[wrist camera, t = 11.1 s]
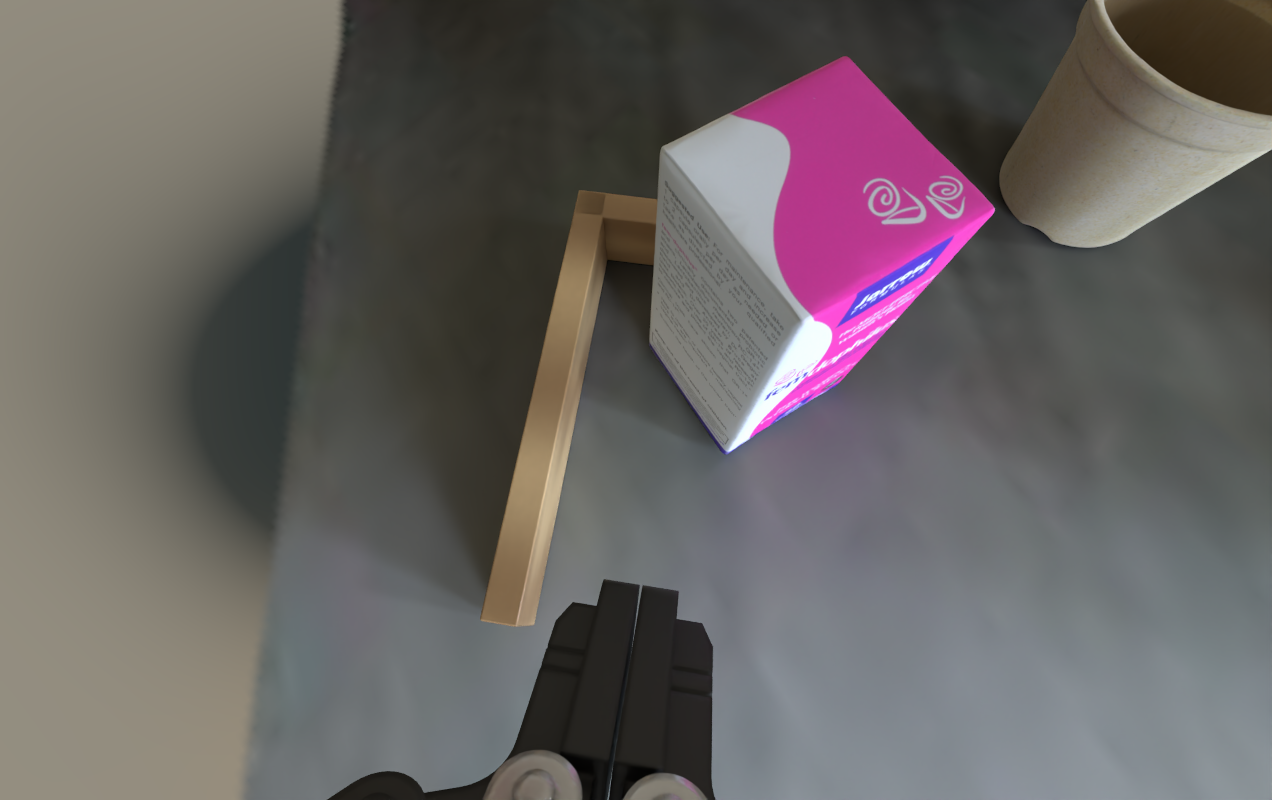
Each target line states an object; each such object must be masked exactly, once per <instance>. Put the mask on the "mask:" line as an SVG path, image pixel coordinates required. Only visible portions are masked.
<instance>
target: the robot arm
mask: <svg viewBox="0 0 1272 800" xmlns="http://www.w3.org/2000/svg"><path fill="white" fill-rule="evenodd" d="M639 587H640V585H637V584H631V583H624V582H618V581H612V580H606V579H604V581H603V583H602V587H601V591H600V595H599V599H598V603H597V606H593V605H587V604H581V603H575V602H573V603H572V604H571V605H570V606H569V607H568V608H567V609H566V610H565V611H564V612H563V613H562V615H561V616H560V617H559V618H558V619H557V620H556V622H555V625H554V628H553V631H552V634H551V637H550V640H549V643H548V648H547V649H546V652H545V655H544V658H543V661H542V666H541V668H540V670H539V673H538V676H537V679H536V682H535V685H534V689H533V692H532V695H531V698H530V701H529V704H528V707H527V710H526V713H525V716H524V719H523V722H522V725H521V728H520V731H519V734H518V737H517V740H516V743H515V745H514V748H513V750H512V751H511V753H510V755H509V756H508V758H507V759H506V760H505V762H504V763H503V764H502V765H501V766H500V767H499V768H498V769H497V770H496V771H495V772H493V773H492V774H490V775H489V776H488V777H486V778H484V779H482V780H480V781H478V782H476V783H473V784H471V785H467V786H463V787H457V788H451V789H445V790H439V791H433V792H427V793H424V792H423V790H422V788H421V787H420V785H419V784H418V783H417V782H416V781H415V780H414V779H412V778H411V777H409V776H407V775H405V774H403V773H399V772H391V771H386V772H378V773H374V774H370V775H368V776H365V777H363V778H361V779H359V780H357V781H355V782H354V783H352V784H350V785H349V786H347V787H346V788H344V789H343V790H341V791H340V792H338V793H337V794H335V795H334V796H332V797H331V798H329V799H327V800H607V798H608V792H609V786H610V780H611V787H610V796H609V800H715V797H714V793H713V789H712V780H711V761H712V668H713V646H712V644H711V642H710V640H709V637H708V635H707V633H706V631H705V629H704V626H703V624H702V623H697V622H691V621H685V620H679V619H676V618H677V606H678V593H679V592H678V591H675V590H669V589H663V588H656V587H650V586H644V585H643V587H642V592H641V598H640V604H639V610H638V616H637V623H636V629H635V635H634V628H635V620H636V612H637V604H638V596H639ZM633 636H634V641H633ZM632 644H633V647H632ZM631 651H632V653H631ZM630 658H631V659H630ZM612 768H613V771H612ZM611 774H612V779H611Z"/></svg>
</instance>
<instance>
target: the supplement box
mask: <svg viewBox="0 0 1272 800" xmlns="http://www.w3.org/2000/svg"><path fill="white" fill-rule="evenodd" d="M994 211H995V208H994V207H993V205H992V204H991V203H990V202H989V201H988V200H987V199H986V197H985V196H984V195H983V194H982V193H981V192H980V191H979V190H978V189H977V188H976V187H975V186H974V185H973V184H972V183H971V182H970V181H969V180H968V179H967V178H966V177H965V176H964V175H963V174H962V173H961V172H960V171H959V170H958V169H957V168H956V167H955V166H954V165H953V164H952V163H951V162H950V161H949V160H948V159H946V158H945V157H944V156H943V155H942V154H941V153H940V152H939V151H938V150H937V149H936V148H935V147H934V146H933V145H932V144H931V143H930V142H929V141H928V140H927V139H926V138H925V137H924V136H923V135H922V134H921V133H920V132H919V131H918V130H917V129H916V128H915V127H914V126H913V125H912V124H911V123H910V121H909V120H908V119H907V118H906V117H905V116H904V115H903V114H902V113H901V112H900V111H899V110H898V109H897V108H896V107H895V106H894V105H893V104H892V103H891V102H890V101H889V100H888V99H887V97H886V96H885V95H884V94H883V93H882V92H881V91H880V90H879V89H878V88H877V87H876V86H875V85H874V84H873V83H872V82H871V81H870V80H869V78H868V77H867V76H866V75H865V74H864V73H863V72H862V71H861V70H860V69H859V68H858V67H857V66H856V65H855V64H854V62H853V61H852V60H851V59H850V58H848V57H847V56H844V57H841V58H839V59H837V60H835V61H833V62H831V63H829V64H827V65H825V66H823V67H821V68H819V69H817V70H815V71H813V72H811V73H809V74H807V75H804V76H802V77H800V78H799V79H797V80H795V81H793V82H791V83H789V84H787V85H784V86H782V87H781V88H779V89H777V90H775V91H772V92H770V93H768V94H766V95H764V96H762V97H760V98H758V99H757V100H755V101H753V102H751V103H749V104H747V105H745V106H743V107H741V108H739V109H737V110H735V111H733V112H731V113H729V114H727V115H724V116H722V117H720V118H718V119H716V120H714V121H712V122H710V123H709V124H707V125H705V126H703V127H701V128H699V129H697V130H695V131H693V132H691V133H689V134H687V135H685V136H683V137H681V138H679V139H677V140H675V141H673V142H671V143H669V144H666V145H664V146H662V148H661V151H660V162H659V180H658V201H657V217H656V234H655V254H654V271H653V287H652V303H651V322H650V337H649V341H650V342H649V347H650V348H651V349H652V351H653V353H654V355H655V356H656V358H657V359H658V360H659V362H660V363H661V364H662V366H663V368H664V369H665V370H666V372H667V373H668V374H669V376H670V377H671V379H672V380H673V382H674V383H675V385H676V386H677V387H678V389H679V390H680V392H681V393H682V395H683V396H684V397H685V399H686V401H687V402H688V404H689V405H690V406H691V408H692V409H693V411H694V412H695V414H696V415H697V417H698V419H699V420H700V422H701V423H702V424H703V426H704V427H705V429H706V430H707V431H708V433H709V435H710V436H711V437H712V439H713V440H714V442H715V443H716V445H717V446H718V448H719V449H720V451H721V452H722V453H724V454H729V453H730V452H732V451H733V450H735V449H736V448H737V447H739V446H740V445H742V444H743V443H744V442H746V441H747V440H749V439H750V438H751V437H753V436H754V435H756V434H757V433H759V432H760V431H762V430H763V429H765V428H767V427H768V426H770V425H771V424H773V423H775V422H776V421H778V420H779V419H781V418H783V417H784V416H786V415H788V414H789V413H791V412H792V411H794V410H796V409H797V408H799V407H800V406H802V405H804V404H805V403H807V402H809V401H810V400H812V399H813V398H815V397H817V396H819V395H821V394H823V393H825V392H826V391H828V390H829V389H831V388H833V387H835V386H837V385H838V384H839V382H840V381H841V380H842V379H843V378H844V377H845V376H846V375H847V373H848V372H849V371H850V370H851V369H852V368H853V367H854V366H855V365H856V364H857V363H858V362H859V361H860V359H861V358H862V357H863V356H864V355H865V354H866V353H867V352H868V351H869V350H870V349H871V347H872V346H873V345H874V344H875V343H876V342H877V341H878V339H879V338H880V337H881V336H882V335H883V334H884V333H885V332H886V331H887V330H888V329H889V327H890V326H891V325H892V324H893V323H894V322H895V321H896V320H897V319H898V318H899V317H900V315H901V314H902V313H903V312H904V311H905V310H906V309H907V307H908V306H909V305H910V304H911V303H912V302H913V301H914V300H915V299H916V297H917V296H918V295H919V294H920V293H921V292H922V291H923V290H924V289H925V288H926V287H927V285H928V284H929V283H930V282H931V281H932V280H933V279H934V278H935V276H936V275H937V274H938V273H939V272H940V271H941V270H942V269H943V268H944V267H945V266H946V265H947V264H948V263H949V261H950V260H951V259H952V258H953V257H954V256H955V255H956V254H957V253H958V251H959V250H960V249H961V248H962V247H963V246H964V245H965V244H966V243H967V242H968V240H969V239H970V238H971V237H972V236H973V235H974V234H975V233H976V232H977V231H978V230H979V228H980V227H981V226H982V225H983V224H984V223H985V222H986V221H987V220H988V219H989V218H990V217H991V216H992V215H993V213H994Z"/></svg>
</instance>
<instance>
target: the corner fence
mask: <svg viewBox="0 0 1272 800" xmlns="http://www.w3.org/2000/svg"><path fill="white" fill-rule="evenodd" d="M657 201H658V199H651V198H642V197H634V196H625V195H617V194H608V193H600V192H591V191H583V190H579V193H578V197H577V201H576V206H575V210H574V214H573V219H572V223H571V227H570V232H569V236H568V240H567V245H566V249H565V253H564V257H563V262H562V266H561V270H560V275H559V279H558V283H557V288H556V292H555V296H554V301H553V305H552V309H551V314H550V318H549V322H548V327H547V331H546V335H545V340H544V344H543V348H542V353H541V357H540V361H539V366H538V370H537V374H536V379H535V383H534V387H533V392H532V396H531V400H530V405H529V409H528V413H527V418H526V422H525V426H524V431H523V435H522V439H521V444H520V448H519V452H518V457H517V461H516V465H515V470H514V474H513V478H512V483H511V487H510V491H509V496H508V500H507V504H506V509H505V513H504V517H503V522H502V526H501V530H500V535H499V539H498V543H497V548H496V552H495V556H494V561H493V565H492V569H491V574H490V578H489V582H488V587H487V591H486V595H485V600H484V604H483V608H482V613H481V617H480V620H481V621H485V622H491V623H497V624H503V625H508V626H514V627H517V626H531V625H534V623H535V618H536V613H537V608H538V603H539V598H540V593H541V588H542V583H543V578H544V573H545V568H546V563H547V558H548V553H549V548H550V543H551V539H552V534H553V529H554V524H555V519H556V514H557V509H558V504H559V499H560V494H561V489H562V484H563V479H564V474H565V469H566V464H567V459H568V454H569V449H570V444H571V439H572V434H573V429H574V424H575V419H576V414H577V409H578V404H579V399H580V394H581V389H582V384H583V379H584V374H585V369H586V364H587V359H588V354H589V349H590V344H591V339H592V334H593V329H594V324H595V319H596V315H597V310H598V305H599V300H600V295H601V290H602V285H603V280H604V275H605V270H606V265H607V260H614V261H622V262H630V263H639V264H647V265H654V254H655V234H656V217H657Z"/></svg>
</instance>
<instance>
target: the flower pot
mask: <svg viewBox="0 0 1272 800" xmlns="http://www.w3.org/2000/svg"><path fill="white" fill-rule="evenodd" d="M1270 150H1272V0H1087V2H1086V4H1085V5H1084V7H1083V10H1082V12H1081V14H1080V16H1079V19H1078V23H1077V28H1076V36H1075V37H1074V39H1073V41H1072V43H1071V45H1070V46H1069V48H1068V50H1067V52H1066V54H1065V55H1064V57H1063V59H1062V61H1061V62H1060V64H1059V66H1058V68H1057V69H1056V71H1055V73H1054V75H1053V77H1052V78H1051V80H1050V82H1049V84H1048V85H1047V87H1046V89H1045V91H1044V92H1043V94H1042V96H1041V98H1040V100H1039V101H1038V103H1037V105H1036V107H1035V108H1034V110H1033V112H1032V113H1031V115H1030V117H1029V119H1028V120H1027V122H1026V124H1025V125H1024V127H1023V129H1022V131H1021V132H1020V134H1019V136H1018V137H1017V139H1016V141H1015V142H1014V144H1013V146H1012V147H1011V149H1010V150H1009V152H1008V153H1007V155H1006V157H1005V159H1004V161H1003V163H1002V166H1001V169H1000V175H999V183H1000V189H1001V193H1002V196H1003V198H1004V200H1005V203H1006V205H1007V206H1008V208H1009V209H1010V210H1011V212H1012V213H1013V215H1014V216H1015V217H1016V218H1017V219H1018V220H1019V221H1020V222H1021V223H1023V224H1026V225H1030V226H1033V227H1035V228H1037V229H1039V230H1040V231H1042V232H1043V233H1044V234H1046V235H1047V236H1048V237H1049V238H1050V240H1051V241H1053V242H1056V243H1059V244H1063V245H1067V246H1073V247H1085V248H1090V247H1099V246H1104V245H1108V244H1111V243H1114V242H1117V241H1119V240H1121V239H1123V238H1125V237H1127V236H1128V235H1130V234H1131V233H1132V232H1134V231H1135V230H1137V229H1139V228H1140V227H1142V226H1143V225H1145V224H1147V223H1148V222H1150V221H1152V220H1153V219H1155V218H1157V217H1158V216H1160V215H1162V214H1163V213H1165V212H1167V211H1168V210H1170V209H1172V208H1173V207H1175V206H1177V205H1178V204H1180V203H1182V202H1183V201H1185V200H1187V199H1188V198H1190V197H1192V196H1193V195H1195V194H1197V193H1199V192H1200V191H1202V190H1204V189H1205V188H1207V187H1209V186H1210V185H1212V184H1214V183H1215V182H1217V181H1219V180H1220V179H1222V178H1224V177H1226V176H1227V175H1229V174H1231V173H1232V172H1234V171H1236V170H1237V169H1239V168H1241V167H1242V166H1244V165H1246V164H1247V163H1249V162H1251V161H1252V160H1254V159H1256V158H1258V157H1259V156H1261V155H1263V154H1264V153H1266V152H1268V151H1270Z"/></svg>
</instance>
